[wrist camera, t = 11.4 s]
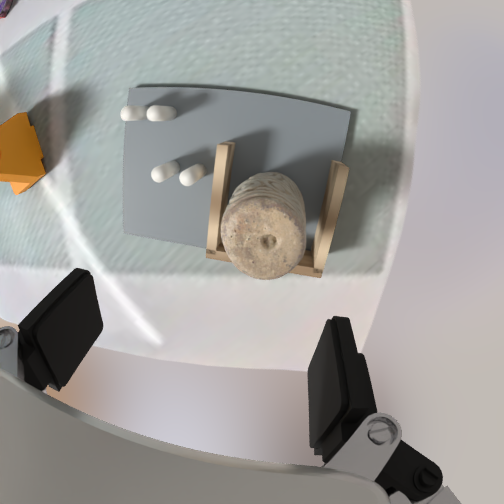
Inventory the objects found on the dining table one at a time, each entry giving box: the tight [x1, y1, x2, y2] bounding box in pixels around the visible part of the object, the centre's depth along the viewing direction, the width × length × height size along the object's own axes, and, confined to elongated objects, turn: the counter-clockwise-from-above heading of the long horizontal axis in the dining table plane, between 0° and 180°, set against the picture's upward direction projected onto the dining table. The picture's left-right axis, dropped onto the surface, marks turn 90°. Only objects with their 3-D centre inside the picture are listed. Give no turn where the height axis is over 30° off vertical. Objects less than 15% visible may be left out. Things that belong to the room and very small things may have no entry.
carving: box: [221, 172, 306, 280], centre depth 25 cm, size 6×8×12 cm
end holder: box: [206, 141, 349, 278], centre depth 28 cm, size 12×12×4 cm
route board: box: [121, 87, 351, 251], centre depth 28 cm, size 18×24×5 cm
